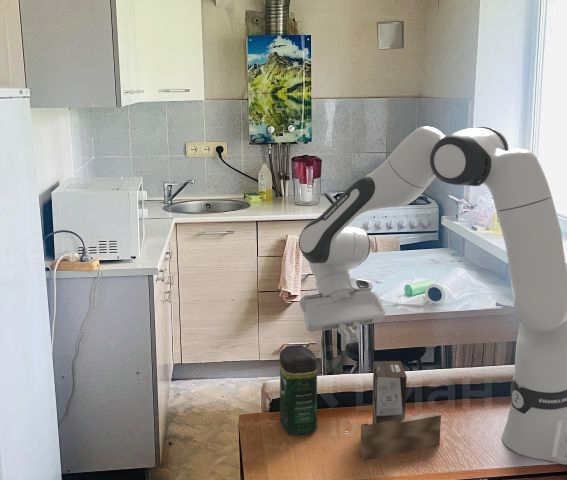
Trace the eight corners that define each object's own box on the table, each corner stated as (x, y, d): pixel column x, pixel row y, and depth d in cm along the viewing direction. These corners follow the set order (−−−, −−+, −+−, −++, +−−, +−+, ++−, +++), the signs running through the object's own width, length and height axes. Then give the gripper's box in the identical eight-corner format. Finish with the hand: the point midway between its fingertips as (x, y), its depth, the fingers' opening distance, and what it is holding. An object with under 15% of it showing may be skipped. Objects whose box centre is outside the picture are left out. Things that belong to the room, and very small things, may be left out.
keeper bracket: (426, 433, 152) (427, 404, 151) (439, 445, 147) (441, 415, 146) (352, 447, 147) (352, 417, 145) (363, 460, 141) (364, 429, 140)
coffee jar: (321, 434, 152) (321, 356, 148) (286, 439, 150) (286, 359, 146) (309, 415, 161) (309, 340, 157) (276, 419, 159) (275, 343, 155)
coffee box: (405, 447, 146) (407, 377, 143) (374, 447, 147) (376, 376, 143) (400, 427, 155) (402, 360, 152) (371, 426, 156) (372, 359, 152)
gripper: (300, 290, 165) (316, 342, 158) (377, 281, 171) (395, 330, 164) (294, 302, 170) (309, 353, 163) (369, 293, 176) (386, 341, 169)
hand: (353, 341), depth 164 cm, fingers closed
